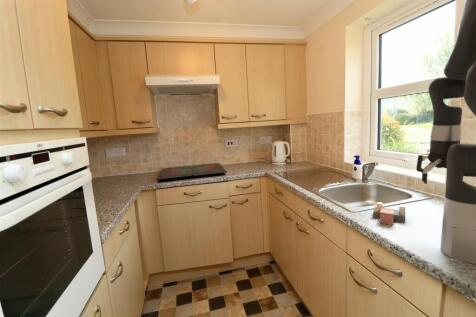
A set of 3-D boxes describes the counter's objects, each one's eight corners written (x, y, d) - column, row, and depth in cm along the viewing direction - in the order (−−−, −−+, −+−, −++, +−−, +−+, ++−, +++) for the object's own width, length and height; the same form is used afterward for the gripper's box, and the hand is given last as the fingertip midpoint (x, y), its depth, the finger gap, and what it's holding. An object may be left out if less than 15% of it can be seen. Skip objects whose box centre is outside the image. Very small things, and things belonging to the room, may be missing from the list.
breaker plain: (405, 213, 94) (405, 207, 94) (399, 212, 95) (399, 206, 95) (404, 211, 96) (405, 205, 95) (399, 210, 97) (399, 204, 97)
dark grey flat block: (404, 222, 93) (405, 214, 92) (373, 217, 99) (373, 209, 98) (404, 216, 97) (405, 209, 97) (374, 212, 104) (374, 205, 103)
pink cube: (393, 224, 91) (393, 214, 90) (379, 222, 93) (380, 212, 93) (393, 220, 94) (393, 210, 94) (380, 218, 97) (381, 208, 96)
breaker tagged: (382, 209, 99) (382, 204, 98) (376, 209, 100) (376, 203, 99) (382, 208, 100) (382, 202, 100) (376, 207, 101) (377, 202, 101)
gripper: (418, 139, 80) (415, 185, 83) (477, 139, 72) (471, 190, 75) (418, 137, 86) (415, 179, 89) (472, 136, 78) (466, 183, 81)
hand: (441, 184), depth 82 cm, fingers open, 8 cm apart
